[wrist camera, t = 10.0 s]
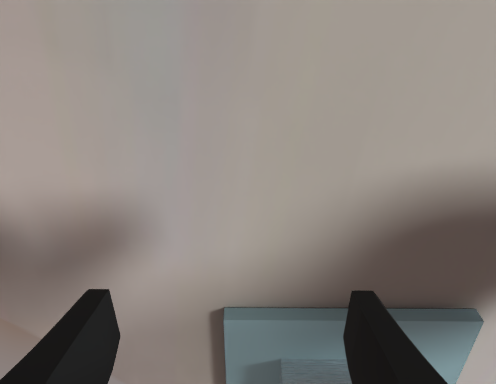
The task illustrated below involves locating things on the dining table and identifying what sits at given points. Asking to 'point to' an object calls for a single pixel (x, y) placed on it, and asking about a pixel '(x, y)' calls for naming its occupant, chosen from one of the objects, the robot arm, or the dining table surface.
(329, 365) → the socket
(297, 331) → the board
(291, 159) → the dining table surface
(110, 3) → the dining table surface
